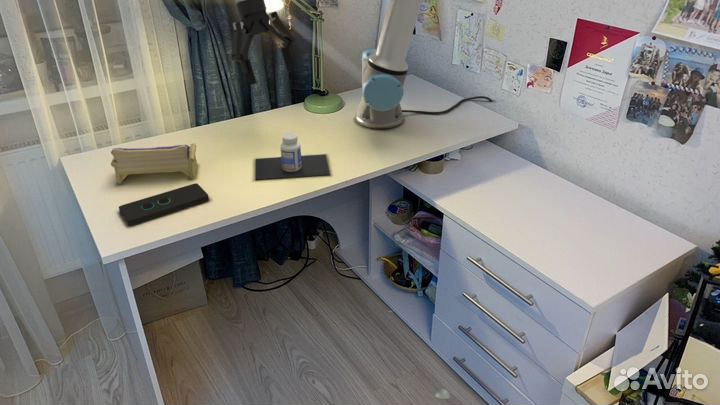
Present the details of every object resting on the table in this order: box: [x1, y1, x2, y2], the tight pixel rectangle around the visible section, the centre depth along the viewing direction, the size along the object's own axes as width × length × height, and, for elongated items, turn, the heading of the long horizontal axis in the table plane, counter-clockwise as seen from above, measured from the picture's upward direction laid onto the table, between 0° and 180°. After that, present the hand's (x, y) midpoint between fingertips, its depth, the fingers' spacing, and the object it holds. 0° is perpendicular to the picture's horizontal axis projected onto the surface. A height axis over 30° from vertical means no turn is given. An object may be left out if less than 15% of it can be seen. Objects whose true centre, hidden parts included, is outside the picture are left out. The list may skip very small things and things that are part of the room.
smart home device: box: [118, 182, 210, 227], centre depth 139 cm, size 8×2×20 cm
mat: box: [255, 153, 331, 181], centre depth 157 cm, size 20×12×1 cm, turn 99°
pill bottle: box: [280, 132, 302, 172], centre depth 154 cm, size 5×5×10 cm
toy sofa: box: [110, 142, 198, 185], centre depth 151 cm, size 21×9×10 cm, turn 99°
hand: (272, 76), depth 158 cm, fingers open, 13 cm apart
